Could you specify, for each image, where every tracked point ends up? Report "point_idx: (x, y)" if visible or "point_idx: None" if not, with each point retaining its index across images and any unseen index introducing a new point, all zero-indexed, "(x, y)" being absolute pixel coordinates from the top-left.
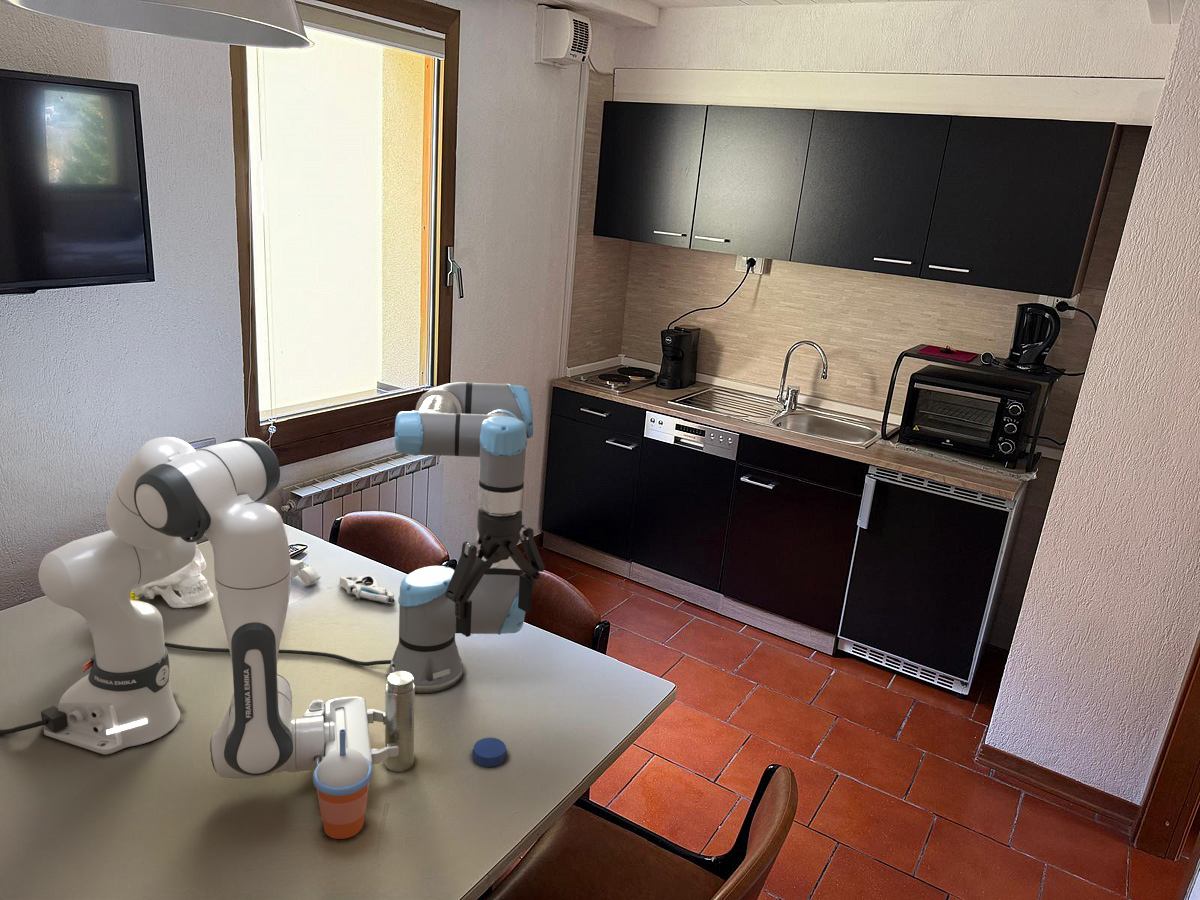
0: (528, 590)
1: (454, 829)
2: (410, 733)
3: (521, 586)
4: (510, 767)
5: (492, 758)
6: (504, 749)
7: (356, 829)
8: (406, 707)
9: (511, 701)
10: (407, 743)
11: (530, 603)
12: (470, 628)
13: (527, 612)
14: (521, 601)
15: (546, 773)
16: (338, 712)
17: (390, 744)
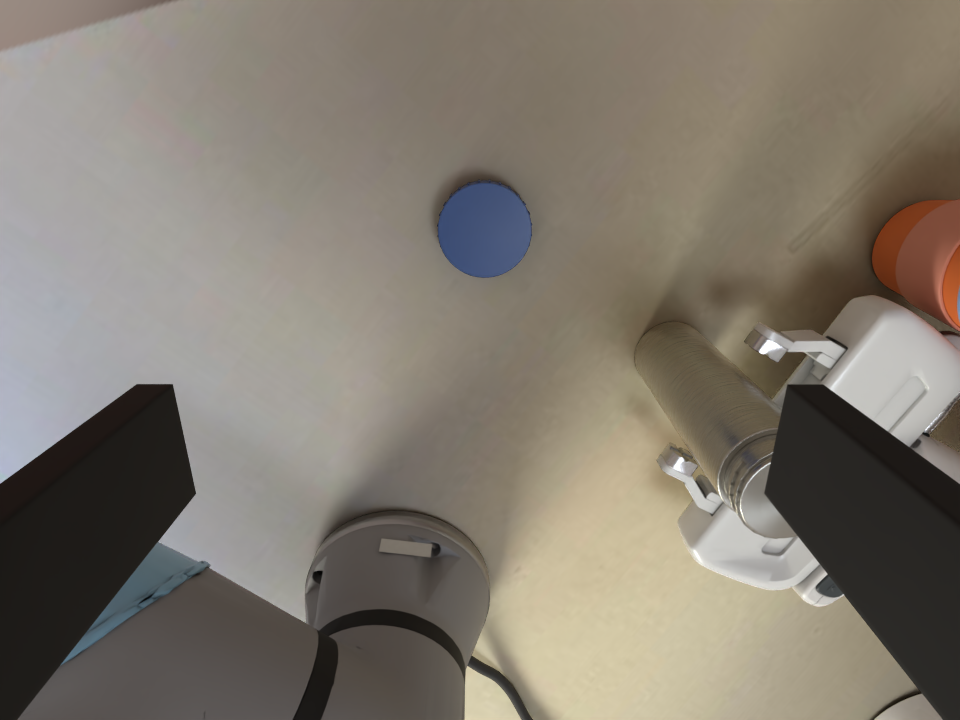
0: (13, 525)
1: (751, 44)
2: (701, 359)
3: (50, 631)
4: (467, 150)
5: (507, 189)
6: (457, 196)
7: (936, 200)
8: (761, 401)
9: (286, 377)
10: (702, 348)
11: (94, 424)
12: (830, 413)
13: (171, 388)
14: (151, 502)
15: (402, 53)
16: (781, 540)
17: (774, 354)
